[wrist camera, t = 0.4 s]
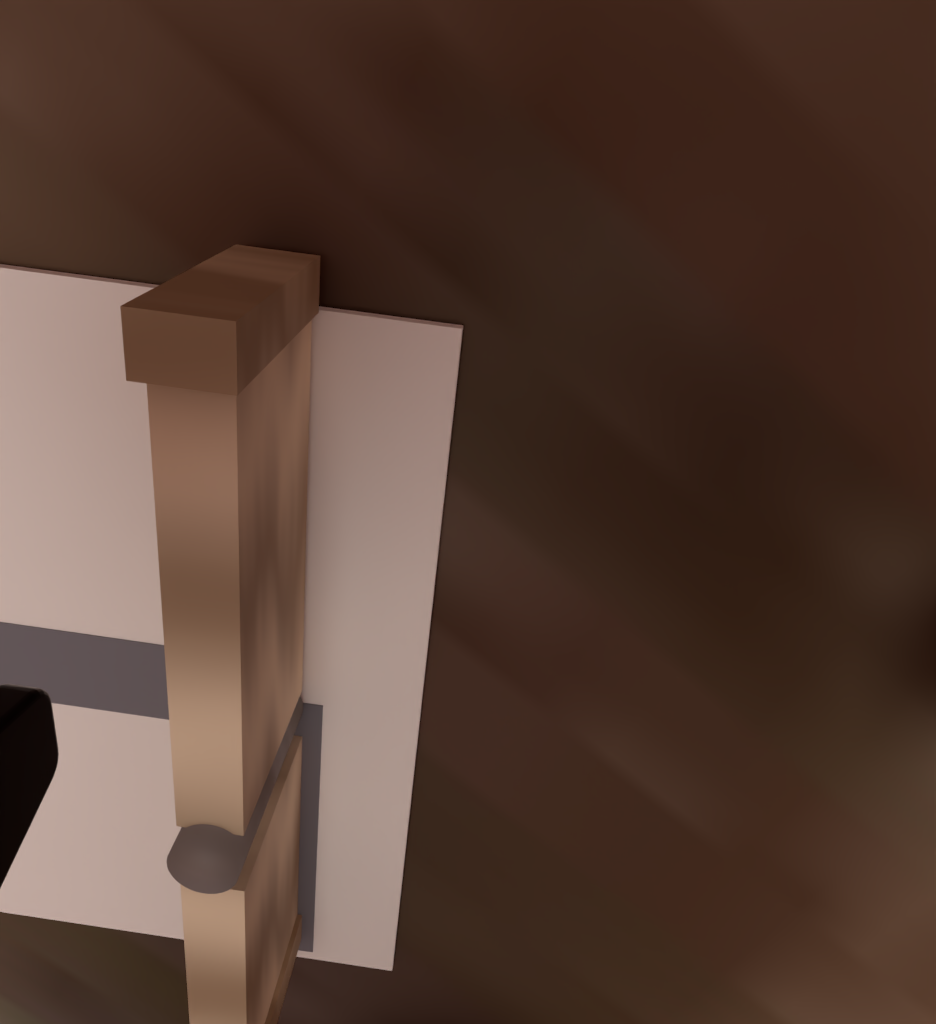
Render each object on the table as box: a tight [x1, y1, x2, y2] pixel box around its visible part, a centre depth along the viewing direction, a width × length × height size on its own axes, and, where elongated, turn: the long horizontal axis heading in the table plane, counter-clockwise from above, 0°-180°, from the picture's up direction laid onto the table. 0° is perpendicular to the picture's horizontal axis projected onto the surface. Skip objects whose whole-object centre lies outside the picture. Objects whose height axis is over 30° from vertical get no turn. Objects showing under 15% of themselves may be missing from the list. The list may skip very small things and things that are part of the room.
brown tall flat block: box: [120, 245, 320, 894], centre depth 18 cm, size 13×2×6 cm, turn 174°
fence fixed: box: [180, 735, 302, 1024], centre depth 24 cm, size 9×2×6 cm, turn 174°
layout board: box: [0, 264, 463, 971], centre depth 24 cm, size 22×17×1 cm
